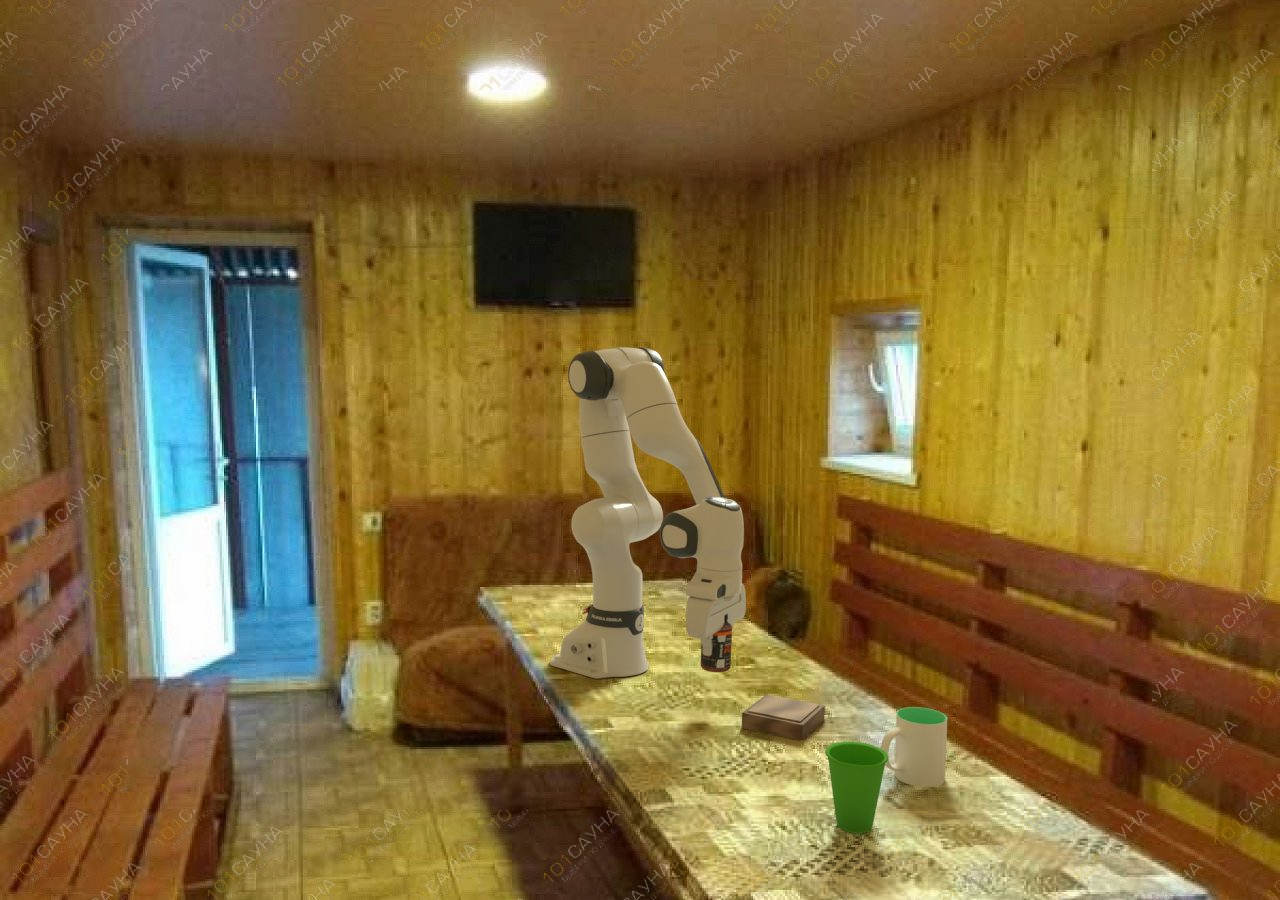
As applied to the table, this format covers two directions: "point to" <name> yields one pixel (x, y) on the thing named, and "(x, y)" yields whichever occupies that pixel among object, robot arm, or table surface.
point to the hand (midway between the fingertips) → (716, 650)
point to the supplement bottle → (719, 650)
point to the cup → (855, 783)
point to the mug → (918, 746)
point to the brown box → (783, 717)
